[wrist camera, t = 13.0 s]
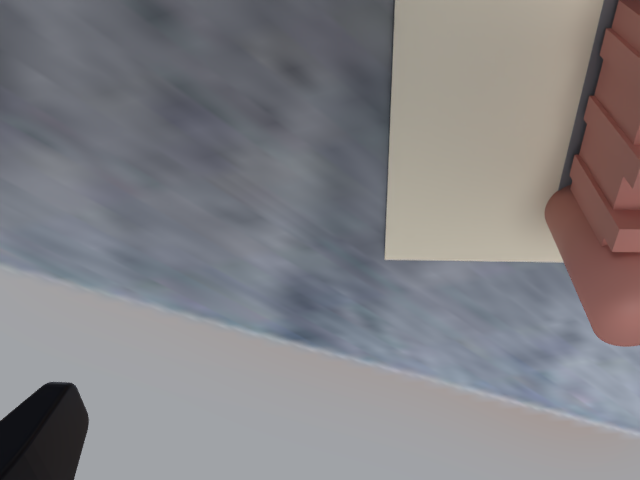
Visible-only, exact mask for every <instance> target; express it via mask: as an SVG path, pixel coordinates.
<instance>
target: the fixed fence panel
mask: <svg viewBox="0 0 640 480" xmlns="http://www.w3.org/2000/svg"><path fill="white" fill-rule="evenodd" d="M600 56H601V57H602V58H603V63H602V67H601V71H600V75H599V79H598V83H597V87H596V90H595V94H594V96H589V99H588V103H587V107H586V111H585V115H584V121H585V122H586V123H587V126H586V130H585V133H584V137H583V141H582V145H581V149H580V153H579V155H574V159H573V163H572V167H571V171H570V177H571V179H572V184H571V185H568V186H566V187H564V188H562V189H561V190H559V191H557V192H555V193H554V194H553V195H552V197H551V198H550V199H549V201H548V202H547V205H546V207H545V220H546V223H547V225H548V227H549V229H550V232H551V234H552V236H553V239H554V241H555V243H556V246H557V248H558V250H559V253H560V255H561V257H562V259H563V262H564V264H565V266H566V269H567V271H568V273H569V276H570V278H571V280H572V282H573V285H574V287H575V289H576V292H577V294H578V296H579V299H580V301H581V303H582V306H583V308H584V310H585V312H586V315H587V317H588V319H589V322H590V324H591V326H592V329H593V331H594V333H595V334H596V335H597V337H598V338H600V339H601V340H602V341H604V342H606V343H608V344H612V345H616V346H637V345H640V0H619V1H618V5H617V8H616V12H615V16H614V20H613V24H612V28H606V31H605V35H604V39H603V43H602V47H601V51H600Z"/></svg>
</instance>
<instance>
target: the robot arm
mask: <svg viewBox="0 0 640 480" xmlns="http://www.w3.org/2000/svg"><path fill="white" fill-rule="evenodd" d="M88 423H89V419H88V413H87V411H86V408H85V406H84V404H83V401H82V399H81V397H80V394H79V392H78V389H77V387H76V386H75V385H74V384H72V383H65V382H50V383H47V384H45V385H43V386H42V387H41V388H39V389H38V390H37V391H36V392H35V393H33V394H32V395H31V396H30V397H28V398H27V399H26V400H25V401H24V402H22V403H21V404H20V405H19V406H18V407H16V408H15V409H14V410H13V411H12V412H10V413H9V414H8V415H7V416H6V417H4V418H3V419H2V420H1V421H0V480H74V477H75V473H76V470H77V466H78V462H79V459H80V455H81V451H82V448H83V444H84V441H85V437H86V433H87V430H88Z"/></svg>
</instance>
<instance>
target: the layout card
mask: <svg viewBox="0 0 640 480" xmlns="http://www.w3.org/2000/svg"><path fill="white" fill-rule="evenodd" d="M618 1H619V0H395V9H394V34H393V59H392V84H391V109H390V134H389V159H388V184H387V209H386V234H385V260H431V261H500V262H563V259H562V257H561V255H560V253H559V250H558V248H557V246H556V243H555V241H554V239H553V236H552V234H551V232H550V229H549V227H548V225H547V223H546V220H545V207H546V205H547V202H548V201H549V199H550V198H551V197H552V195H553V194H554V193H555V192H557V191H559V190H561V189H562V188H564V187H566V186H568V185H571V184H572V179H571V177H570V171H571V167H572V163H573V159H574V155H579V153H580V149H581V145H582V141H583V137H584V133H585V130H586V126H587V123H586V122H585V121H584V115H585V111H586V107H587V103H588V99H589V96H594V94H595V90H596V87H597V83H598V79H599V75H600V71H601V67H602V63H603V58H602V57H601V56H600V51H601V47H602V43H603V39H604V35H605V31H606V28H612V24H613V20H614V16H615V12H616V8H617V5H618Z"/></svg>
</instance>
